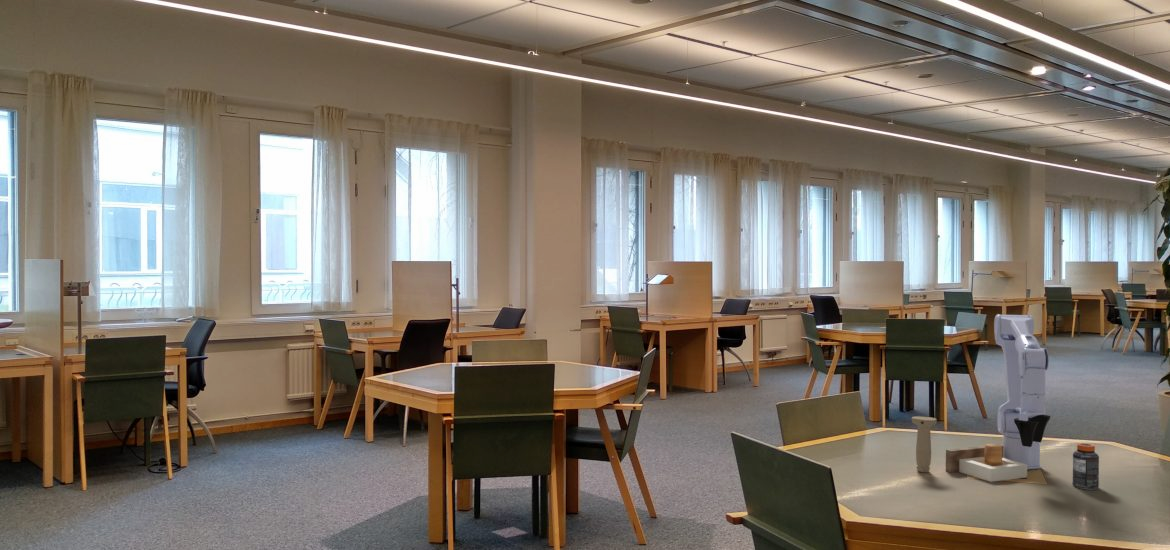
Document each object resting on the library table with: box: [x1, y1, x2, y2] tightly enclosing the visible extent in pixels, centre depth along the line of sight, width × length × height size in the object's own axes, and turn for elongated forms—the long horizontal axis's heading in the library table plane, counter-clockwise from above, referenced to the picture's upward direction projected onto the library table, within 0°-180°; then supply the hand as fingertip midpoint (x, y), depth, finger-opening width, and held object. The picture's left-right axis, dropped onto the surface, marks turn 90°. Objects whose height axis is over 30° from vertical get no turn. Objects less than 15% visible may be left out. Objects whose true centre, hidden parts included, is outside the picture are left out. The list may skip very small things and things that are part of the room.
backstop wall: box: [945, 444, 1003, 473], centre depth 243 cm, size 19×2×6 cm, turn 110°
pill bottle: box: [1072, 442, 1100, 491], centre depth 224 cm, size 6×6×11 cm
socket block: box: [959, 457, 1028, 483], centre depth 237 cm, size 13×11×4 cm
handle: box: [911, 415, 937, 474], centre depth 240 cm, size 5×6×15 cm
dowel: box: [984, 443, 1003, 466], centre depth 237 cm, size 4×4×8 cm
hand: (1031, 444), depth 228 cm, fingers open, 7 cm apart
